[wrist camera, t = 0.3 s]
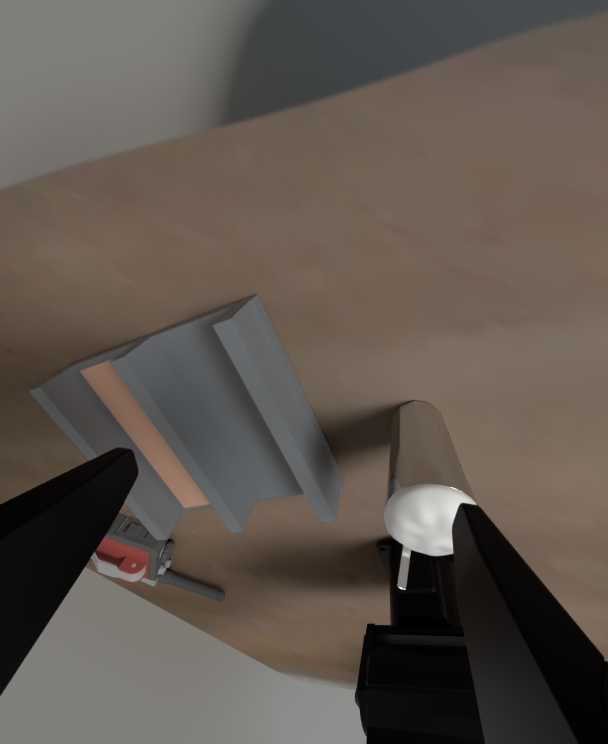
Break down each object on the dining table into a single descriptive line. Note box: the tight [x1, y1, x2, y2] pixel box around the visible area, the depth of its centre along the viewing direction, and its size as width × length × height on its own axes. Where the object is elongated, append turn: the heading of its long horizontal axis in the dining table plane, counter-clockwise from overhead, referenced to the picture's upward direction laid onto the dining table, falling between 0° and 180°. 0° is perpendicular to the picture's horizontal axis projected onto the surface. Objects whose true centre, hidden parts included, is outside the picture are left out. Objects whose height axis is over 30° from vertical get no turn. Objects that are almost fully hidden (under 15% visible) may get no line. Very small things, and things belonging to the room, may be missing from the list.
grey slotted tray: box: [29, 294, 344, 540], centre depth 26 cm, size 16×17×4 cm
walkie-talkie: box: [91, 513, 225, 601], centre depth 37 cm, size 9×4×20 cm
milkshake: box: [384, 401, 478, 590], centre depth 20 cm, size 5×5×10 cm
